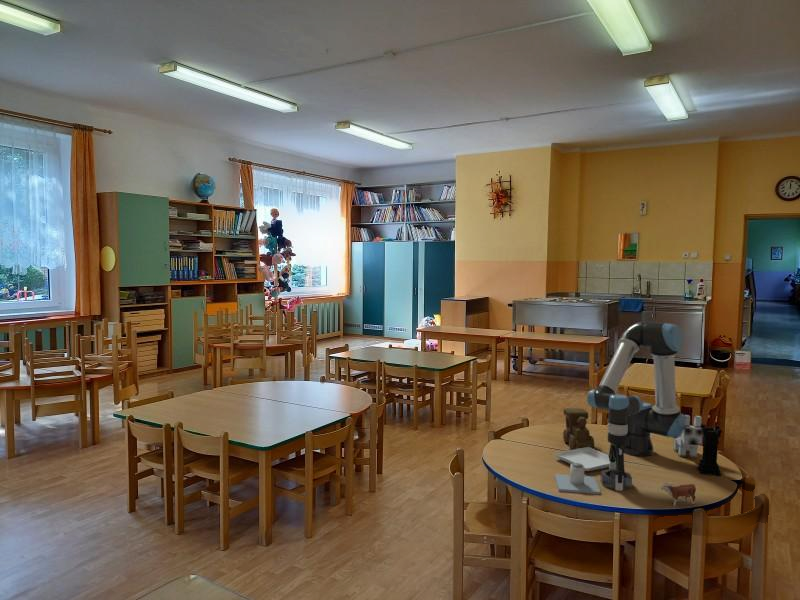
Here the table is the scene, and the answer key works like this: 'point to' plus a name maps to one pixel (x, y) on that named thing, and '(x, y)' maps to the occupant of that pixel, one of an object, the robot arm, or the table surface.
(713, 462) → the chess piece
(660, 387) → the robot arm
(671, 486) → the bull figurine
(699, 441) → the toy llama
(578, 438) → the wooden toy train
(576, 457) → the salad plate
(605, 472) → the ring
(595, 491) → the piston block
